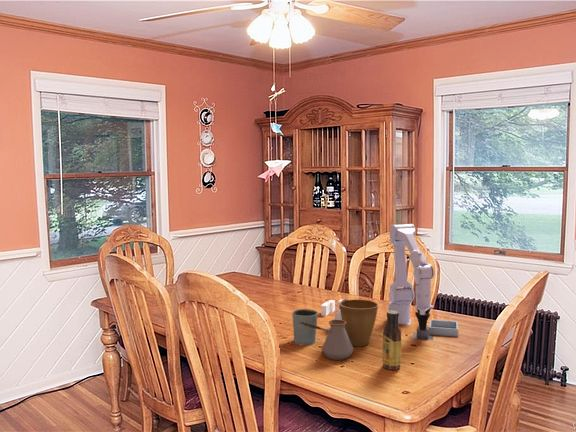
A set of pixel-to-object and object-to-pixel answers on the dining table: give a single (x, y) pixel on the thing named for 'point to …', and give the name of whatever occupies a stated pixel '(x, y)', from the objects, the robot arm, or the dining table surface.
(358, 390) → the dining table surface
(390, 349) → the sauce bottle
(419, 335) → the knob
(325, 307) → the napkin holder
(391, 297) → the robot arm
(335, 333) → the coffee pot
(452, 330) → the bin
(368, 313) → the plant pot
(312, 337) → the grey cup
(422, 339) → the stud plate
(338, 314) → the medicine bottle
